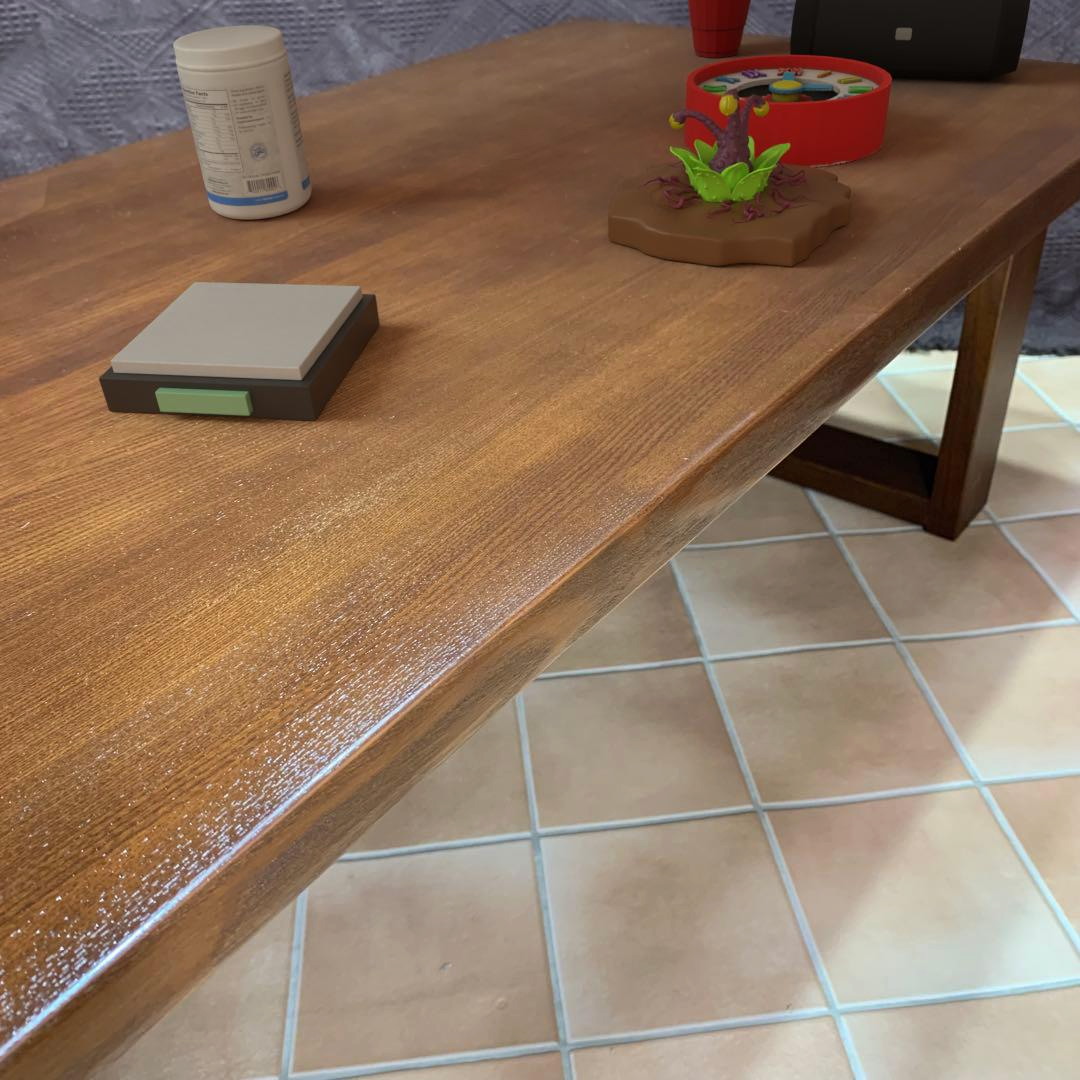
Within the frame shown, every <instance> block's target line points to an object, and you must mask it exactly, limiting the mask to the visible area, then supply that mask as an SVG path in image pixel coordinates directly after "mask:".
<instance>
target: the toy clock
mask: <svg viewBox="0 0 1080 1080" xmlns="http://www.w3.org/2000/svg"><path fill="white" fill-rule="evenodd" d="M892 81H893V78H891V76H890V74H889V73H888V72H887V71H885V70H883V69H881V68H879V67H877V66H874V65H871V64H868V63H865V62H860V61H856V60H850V59H844V58H836V57H828V56H813V55H790V54H772V55H771V54H770V55H757V56H746V57H739V58H732V59H726V60H722V61H717V62H713V63H709V64H706V65H704V66H701V67H698V68H697V69H695V70H693V71H692V72H690V73H689V74H688V75H687V77H686V84H685V85H686V87H685V110H694V111H697V112H701V113H703V114H706V115H707V116H708V117H709V118H711V119H712V120H714V121H715V123H716V124H717V125H718V126H719V127H720V128H721V129H723V130H724V131H725V128H726V126H727V125H728V117H729V115H728V116H726V115H724V114H723V113H722V112H721V111H720V108H719V104H720V100H721V98H722V97H723V96H724V95H723V94H725V93H726V92H727V91H728V90H730V89H734V88H736V89H737V94H738V96H739V98H740V99H739V104H740V106H741V109H740V111H739V114H740V115H741V111H742V110H743V108H744V104H746V101H747V100H748V99H749V97H750V96H752V95H753V94H754V95H757V96H760V97H761V98H763V99H764V100H765V101H766V102H767V103H768V105H769V112H768V113H767V115H765V116H764V117H759V116H757V115H756V114H755V112H754V104H752V107H751V110H750V115H749V122H748V136H751V137H752V139H753V141H754V157H755V158H758V157H759V156H760V155H761V154H762V153H763V152H765V151H766V150H768V149H769V148H771V147H773V146H776V145H780V144H786V143H789V144H790V148H789V149H788V150H787V151H786V152H785V153H784V154H783V155H782V156H781V157H780V159H779V160H780V161H781V163H784V164H790V165H799V166H808V167H813V168H820V167H829V166H836V165H841V164H846V162H847V163H850V162H853V161H857V160H861V159H864V158H865V157H868V156H870V155H873V154H874V153H876V152H877V151H879V150H880V149H881V147H882V146H883V145H884V141H885V133H886V126H887V120H888V119H887V118H888V111H889V103H890V97H891V89H892ZM695 140H700V141H702V142H704V143H706V144H708V145H709V146H711V147H712V148H713V147H714V145H715V142H716V138H715V137H714V136H713V134H712V132H710V131H709V129H708V128H707V127H705V126H704V124H703V123H702V122H700V121H699V120H697V119H694V118H691V117H687V118H686V121H685V124H684V143H685V145H686V147H687V148H688V149H690V151H692V152H694V153H696V154H697V155H698V152H697V150H696V148H695V145H694V142H695ZM840 163H841V164H840ZM835 164H836V165H835Z"/></svg>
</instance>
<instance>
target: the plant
mask: <svg viewBox="0 0 1080 1080" xmlns="http://www.w3.org/2000/svg"><path fill="white" fill-rule="evenodd" d="M723 95H724V96H723V97H722V98H721V100H720V104H719V108H720V111H721V112H722V113H723V114H724V115H726V116H728V115H729V117H728V125H727V126H726V128H725V131H724V130H723V129H721V128H720V127H719V126H718V125H717V124H716V123H715V121H714V120H712V119H711V118H709V117H708V116H707V115H706V114H703V113H701V112H697V111H694V110H686V109H679V110H675V111H673V113H671V115H670V117H669V126H670V127H671V128H672V129H673V130H676V131H677V130H681V129H683V127H685V121H686V118H687V117H691V118H694V119H697V120H699V121H700V122H702V123H703V124H704V126H705V127H707V128H708V129H709V131H710V132H712V134H713V136H714V137H715V138H716V142H715V145H714V147H713V148H712V147H711V146H709V145H708V144H706V143H704V142H702V141H700V140H695V142H694V145H695V148H696V150H697V152H698V154H697V155H698V156H696V155H695V154H693V153H692V152H691V151H689V150H686V149H684V148H681V147H673V146H669V151H670V153H672V154H673V155H674V156H675V157H678V160H679V161H674V162H668V163H662V164H660V163H659V164H653V165H648V166H647V168H646V171H644V172H643V173H640V174H638V175H636V176H633V177H630V178H626V179H624V180H622V181H621V182H619V185H618V186H617V190H616V192H615V194H614V196H613V197H612V200H611V201H610V204H609V207H608V214H607V231H608V240H609V241H610V242H611V243H615V244H619V245H621V246H626V247H630V248H633V249H636V250H639V251H641V252H642V253H644V254H645V255H647V256H650V257H655V258H659V259H663V260H668V261H676V262H683V263H692V264H697V265H705V266H712V267H721V266H728V265H735V264H759V265H769V266H779V267H780V266H781V267H788V268H789V267H790V268H791V267H794V266H795V265H797V264H798V263H800V262H803V261H805V260H807V259H808V258H809V257H810V255H811V253H812V252H813V251H814V250H815V249H816V248H818V247H821V246H823V245H824V244H825V243H826V242H827V240H828V239H829V237H830V235H831V233H832V232H833V231H834V230H837V229H839V228H841V227H845V226H847V225H849V222H850V215H851V208H852V201H851V192H852V189H851V187H850V186H849V185H846V184H843V183H842V182H839V181H838V180H839V178H838V175H837V174H835V173H832V172H830V171H827V170H824V169H821V168H819V167H808V166H799V165H790V164H784V163H781V161H780V160H779V159H780V157H781V156H782V155H783V154H784V153H785V152H786V151H787V150H788V149H789V148H790V144H789V143H786V144H780V145H776V146H773V147H771V148H769V149H768V150H766V151H765V152H763V153H762V154H761V155H760V156H759V157H758V158H755V157H754V141H753V139H752V137H751V136H748V122H749V115H750V110H751V107H752V104H754V112H755V114H756V115H757V116H759V117H764V116H765V115H767V113H768V112H769V105H768V103H767V102H766V101H765V100H764V99H763V98H761V97H760V96H757V95H754V94H753V95H752V96H750V97H749V99H748V100H747V101H746V104H744V108H743V110H742V111H741V115H740V114H739V111H740V109H741V106H740V104H739V99H740V98H739V96H738V94H737V89H736V88H734V89H730V90H728V91H727V92H726V93H725V94H723ZM680 160H681V161H680Z"/></svg>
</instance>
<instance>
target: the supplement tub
mask: <svg viewBox="0 0 1080 1080" xmlns="http://www.w3.org/2000/svg"><path fill="white" fill-rule="evenodd" d="M283 36H284V35H283V33H282V31H281V30H280V29H279V28H277V27H274V26H269V25H258V24H243V25H229V26H228V25H227V26H220V27H212V28H207V29H202V30H198V31H194V32H190V33H188V34H184V35H182V36H180V37H178V38H177V39H175V40H174V41H173V44H172V45H173V51H174V56H175V64H176V70H177V74H178V78H179V84H180V87H181V91H182V96H183V99H184V100H183V101H184V105H185V109H186V112H187V117H188V121H189V125H190V129H191V133H192V137H193V141H194V146H195V151H196V153H197V158H198V162H199V166H200V171H201V174H202V178H203V183H204V187H205V191H206V195H207V199H208V203H209V206H210V208H211V209H212V210H213V211H214V212H215V213H216V214H218V215H219V216H222V217H224V218H228V219H234V220H246V221H247V220H248V221H249V220H262V219H270V218H275V217H279V216H283V215H286V214H287V215H288V214H289V213H293V212H294V211H297V210H298V209H301V208H302V207H303V206H304V205H306V203H307V202H308V201H309V199H310V198H311V195H312V184H311V178H310V177H311V176H310V172H309V166H308V160H307V157H306V156H307V155H306V149H305V144H304V138H303V134H302V127H301V122H300V117H299V111H298V105H297V100H296V94H295V88H294V82H293V77H292V71H291V65H290V61H289V56H288V52H287V47H286V46H285V42H284V37H283Z"/></svg>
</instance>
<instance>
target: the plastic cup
mask: <svg viewBox="0 0 1080 1080" xmlns="http://www.w3.org/2000/svg"><path fill="white" fill-rule="evenodd" d="M687 3H688V4H687V5H688V14H689V22H690V27H691V35H692V41H693V42H692V44H693V50H694V54H695V55H696V56H699V57H702V58H703V57H704V58H726V57H732V56H735V55H737V54H738V53H739V50H740V48H741V45H742V39H743V35H744V30H745V26H746V24H747V20H748V15H749V11H750V6H751V3H752V0H687Z"/></svg>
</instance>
